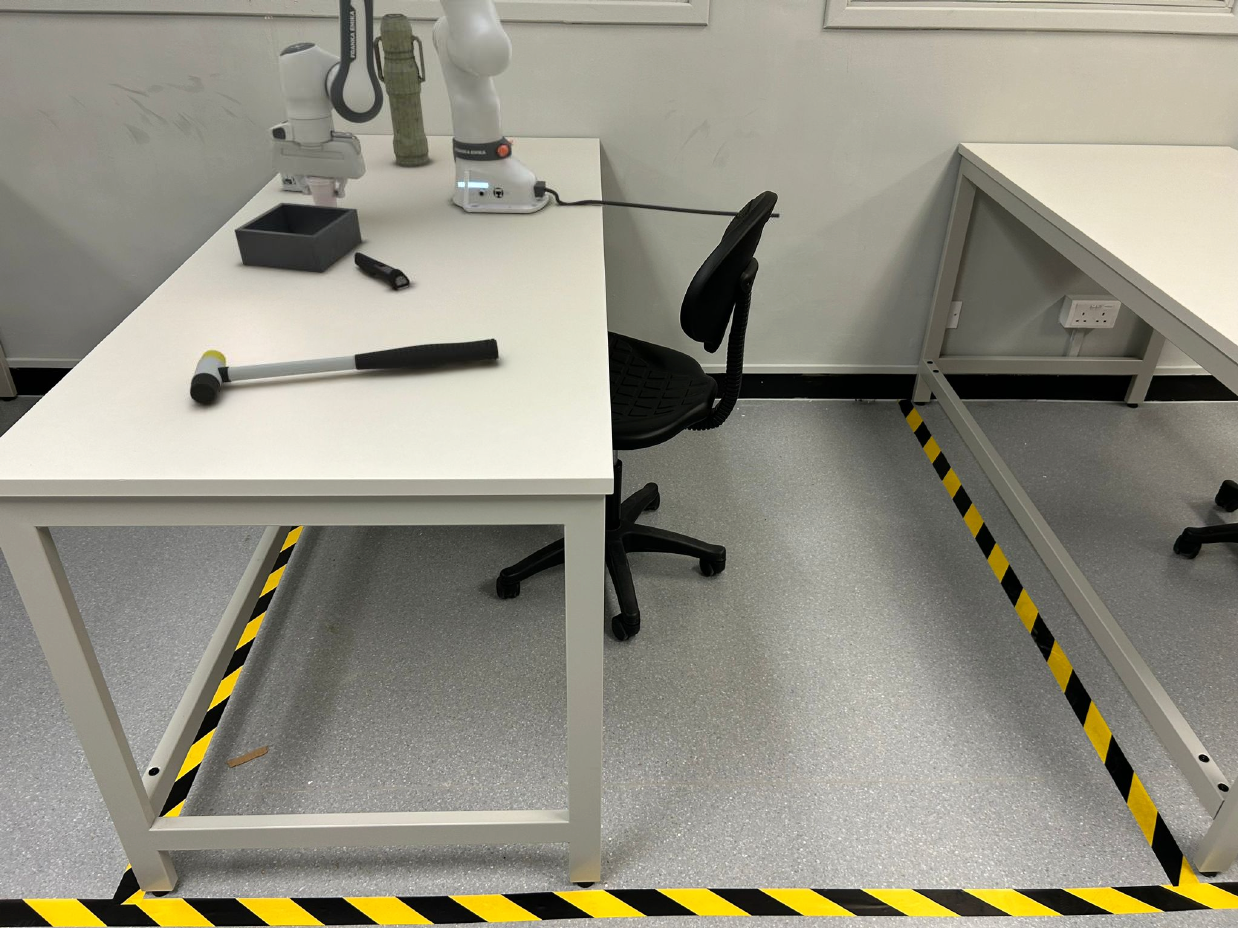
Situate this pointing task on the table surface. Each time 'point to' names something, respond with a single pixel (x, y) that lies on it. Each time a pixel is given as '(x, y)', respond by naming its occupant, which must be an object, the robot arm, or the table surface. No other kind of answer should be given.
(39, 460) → the table surface
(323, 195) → the smoothie
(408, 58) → the thermos
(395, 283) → the electric trimmer
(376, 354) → the hammer
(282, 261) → the basin
